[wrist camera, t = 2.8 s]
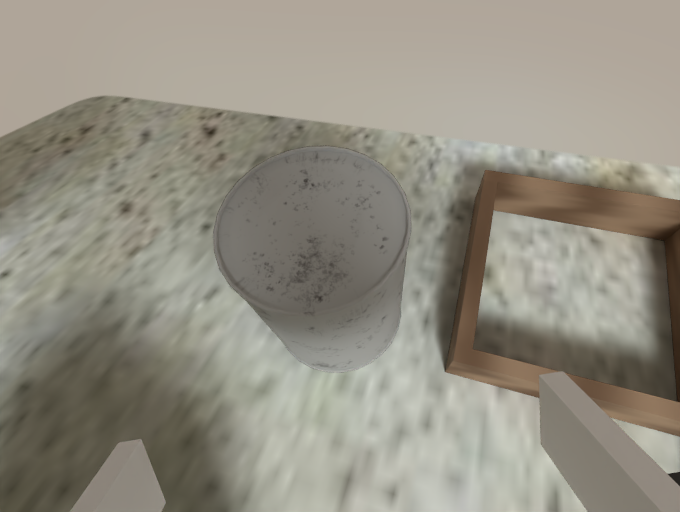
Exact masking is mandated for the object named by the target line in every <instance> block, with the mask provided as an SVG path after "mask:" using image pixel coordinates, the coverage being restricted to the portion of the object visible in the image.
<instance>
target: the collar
mask: <svg viewBox="0 0 680 512" xmlns="http://www.w3.org/2000/svg"><path fill="white" fill-rule="evenodd" d="M493 210H496V211H501V212H507V213H512V214H518V215H524V216H529V217H535V218H541V219H546V220H552V221H557V222H563V223H569V224H574V225H580V226H585V227H591V228H597V229H602V230H608V231H614V232H619V233H625V234H630V235H636V236H642V237H647V238H653V239H659V240H664V241H665V250H666V263H667V275H668V288H669V301H670V313H671V326H672V339H673V351H674V364H675V377H676V389H677V402H676V401H672V400H668V399H664V398H661V397H657V396H653V395H649V394H645V393H641V392H637V391H633V390H630V389H626V388H622V387H618V386H614V385H610V384H606V383H602V382H599V381H595V380H591V379H587V378H583V377H579V376H575V375H571V374H568V373H565V374H566V375H567V376H568V377H569V378H570V379H571V380H573V381H574V382H575V383H576V384H577V385H578V386H579V387H580V388H581V389H582V390H583V391H584V392H585V393H586V394H587V395H588V396H589V397H590V398H591V399H592V400H593V401H594V402H595V403H596V404H597V405H598V406H599V407H600V408H601V409H602V410H603V411H604V412H605V413H606V414H607V415H608V416H609V417H611V418H614V419H618V420H622V421H625V422H629V423H633V424H636V425H640V426H643V427H647V428H651V429H654V430H658V431H662V432H665V433H669V434H672V435H676V436H680V200H675V199H668V198H662V197H656V196H649V195H643V194H636V193H630V192H624V191H617V190H611V189H604V188H598V187H592V186H585V185H579V184H572V183H566V182H560V181H553V180H547V179H540V178H534V177H528V176H521V175H515V174H508V173H502V172H496V171H489V170H485V173H484V175H483V178H482V181H481V184H480V187H479V190H478V192H477V195H476V199H475V205H474V210H473V216H472V222H471V227H470V233H469V239H468V244H467V250H466V256H465V261H464V267H463V273H462V279H461V284H460V290H459V296H458V301H457V307H456V313H455V318H454V324H453V330H452V335H451V341H450V347H449V353H448V358H447V364H446V370H445V372H447V373H451V374H454V375H458V376H462V377H465V378H469V379H473V380H476V381H480V382H483V383H487V384H491V385H494V386H498V387H502V388H505V389H509V390H513V391H516V392H520V393H523V394H527V395H531V396H534V397H538V398H540V395H539V375H541V374H548V373H554V372H560V371H556V370H552V369H548V368H544V367H540V366H537V365H533V364H529V363H525V362H521V361H517V360H513V359H509V358H505V357H502V356H498V355H494V354H490V353H486V352H482V351H478V350H474V349H473V343H474V337H475V330H476V323H477V317H478V310H479V303H480V296H481V290H482V283H483V276H484V270H485V263H486V256H487V249H488V243H489V236H490V229H491V223H492V216H493Z"/></svg>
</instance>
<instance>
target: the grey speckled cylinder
mask: <svg viewBox="0 0 680 512" xmlns="http://www.w3.org/2000/svg"><path fill="white" fill-rule="evenodd" d="M213 233H214V253H215V256H216V260H217V263H218V266H219V269H220V271H221V273H222V274H223V276H224V277H225V279H226V280H227V282H228V284H229V285H230V287H231V288H233V289H234V290H235V291H236V292H237V293H238V294H239V295H240V296H241V297H242V298H244V299H245V300H246V301H247V302H248V304H249V305H250V306H251V307H252V308H253V309H254V310H255V312H256V313H257V314H258V315H259V316H260V317H261V318H262V319H263V321H264V322H265V323H266V324H267V325H268V326H269V327H270V329H271V330H272V331H273V332H274V333H275V334H276V335H277V336H278V338H279V339H280V340H281V341H282V342H283V343H284V345H285V346H286V348H287V349H288V351H289V352H290V353H291V354H292V355H293V356H294V357H295V358H297V359H298V360H299V361H300V362H302V363H304V364H305V365H307V366H309V367H311V368H313V369H317V370H320V371H324V372H339V373H342V372H347V371H352V370H357V369H359V368H361V367H363V366H365V365H368V364H370V363H371V362H373V361H374V360H375V359H377V358H378V357H379V356H380V355H382V354H383V353H384V351H385V350H386V349H387V348H388V346H389V345H390V344H391V343H392V341H393V339H394V337H395V335H396V333H397V331H398V327H399V323H400V318H401V299H402V290H403V281H404V272H405V263H406V254H407V248H408V243H409V239H410V234H411V210H410V207H409V204H408V201H407V198H406V195H405V192H404V191H403V189H402V187H401V186H400V184H399V183H398V181H397V180H396V178H395V177H394V176H393V175H392V174H391V173H390V172H389V171H388V170H387V169H386V168H385V167H384V166H383V165H382V164H380V163H379V162H377V161H375V160H374V159H372V158H370V157H368V156H367V155H365V154H362V153H359V152H356V151H353V150H350V149H347V148H341V147H334V146H307V147H302V148H298V149H293V150H288V151H286V152H283V153H280V154H278V155H275V156H273V157H270V158H268V159H267V160H265V161H263V162H262V163H260V164H258V165H257V166H255V167H253V168H252V169H251V170H250V171H249V172H247V173H246V174H245V175H244V176H243V177H242V178H241V179H239V180H238V181H237V183H236V184H235V185H234V186H233V188H232V189H231V190H230V192H229V193H228V194H227V195H226V197H225V199H224V201H223V203H222V205H221V207H220V209H219V211H218V214H217V218H216V223H215V227H214V231H213Z"/></svg>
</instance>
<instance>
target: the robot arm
mask: <svg viewBox="0 0 680 512" xmlns="http://www.w3.org/2000/svg"><path fill="white" fill-rule="evenodd" d="M539 395H540V436H541V445H542V447H543V448H544V449H545V451H546V452H547V454H548V455H549V457H550V458H551V460H552V461H553V462H554V464H555V465H556V467H557V468H558V470H559V471H560V473H561V474H562V475H563V477H564V478H565V480H566V481H567V483H568V484H569V485H570V487H571V488H572V490H573V491H574V493H575V494H576V496H577V497H578V498H579V500H580V501H581V503H582V504H583V506H584V507H585V508H586V510H587V511H588V512H680V472H677V473H670V474H667V473H666V472H665V471H664V470H663V469H662V468H661V467H660V466H659V465H658V464H657V463H656V462H655V461H654V460H653V459H652V458H651V457H650V456H649V455H648V454H646V453H645V452H644V451H643V450H642V449H641V448H640V447H639V446H638V445H637V444H636V443H635V442H634V441H633V440H632V439H631V438H630V437H629V436H628V435H627V434H626V433H625V432H624V431H623V430H622V429H621V428H620V427H619V426H618V425H617V424H616V423H615V422H614V421H613V420H612V419H611V418H610V417H609V416H608V415H607V414H606V413H605V412H604V411H603V410H602V409H601V408H600V407H599V406H598V405H597V404H596V403H595V402H594V401H593V400H592V399H591V398H590V397H589V396H588V395H587V394H586V393H585V392H584V391H583V390H582V389H581V388H580V387H579V386H578V385H577V384H576V383H575V382H574V381H573V380H571V379H570V378H569V377H568V376H567V375H566V374H565V373H564V372H563V371H560V372H554V373H548V374H541V375H539ZM165 504H166V501H165V498H164V496H163V493H162V491H161V488H160V486H159V483H158V480H157V478H156V475H155V473H154V470H153V468H152V465H151V463H150V460H149V458H148V455H147V452H146V450H145V447H144V445H143V442H142V440H141V439H136V440H130V441H124V442H118V444H117V445H116V447H115V448H114V450H113V451H112V452H111V454H110V455H109V457H108V458H107V459H106V461H105V462H104V464H103V465H102V467H101V468H100V469H99V471H98V472H97V474H96V475H95V476H94V478H93V479H92V481H91V482H90V483H89V485H88V486H87V488H86V489H85V491H84V492H83V493H82V495H81V496H80V498H79V499H78V500H77V502H76V503H75V505H74V506H73V508H72V509H71V510H70V512H162V510H163V508H164V506H165Z"/></svg>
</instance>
